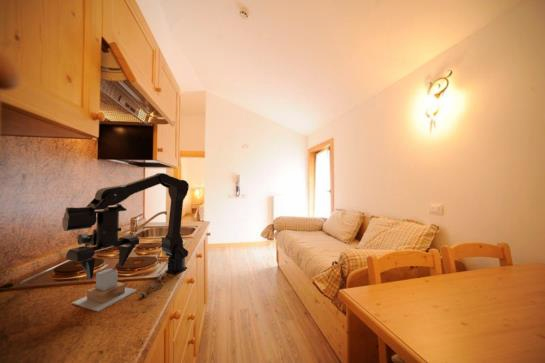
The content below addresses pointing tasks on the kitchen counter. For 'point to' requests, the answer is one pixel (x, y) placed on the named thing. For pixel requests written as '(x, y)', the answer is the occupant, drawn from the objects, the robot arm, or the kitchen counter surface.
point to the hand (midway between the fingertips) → (106, 272)
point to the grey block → (106, 279)
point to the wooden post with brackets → (153, 286)
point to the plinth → (105, 293)
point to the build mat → (98, 307)
